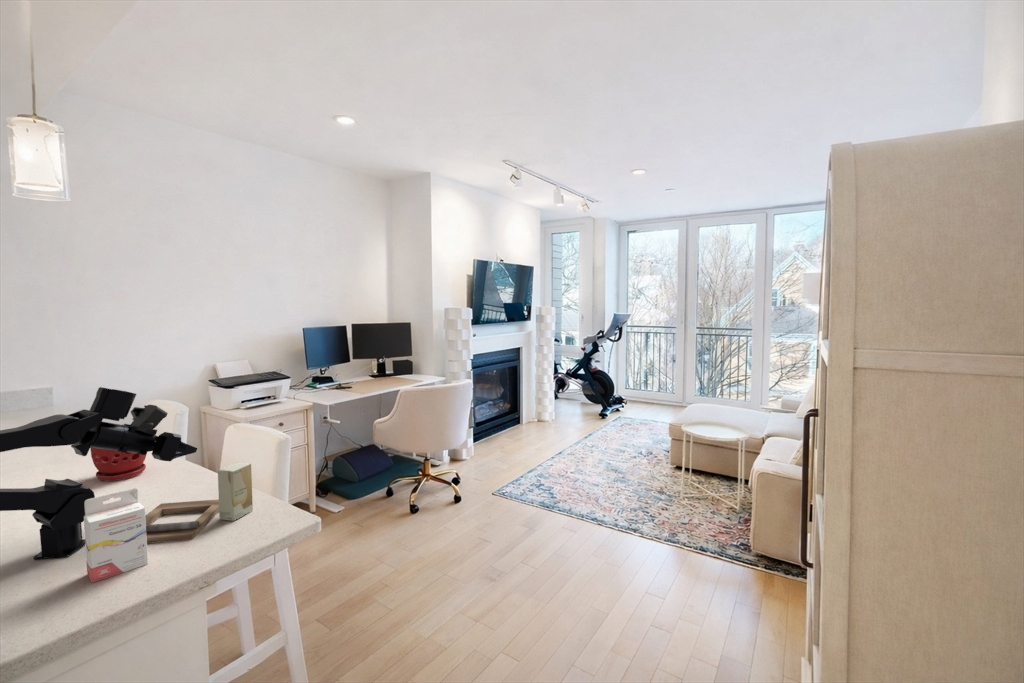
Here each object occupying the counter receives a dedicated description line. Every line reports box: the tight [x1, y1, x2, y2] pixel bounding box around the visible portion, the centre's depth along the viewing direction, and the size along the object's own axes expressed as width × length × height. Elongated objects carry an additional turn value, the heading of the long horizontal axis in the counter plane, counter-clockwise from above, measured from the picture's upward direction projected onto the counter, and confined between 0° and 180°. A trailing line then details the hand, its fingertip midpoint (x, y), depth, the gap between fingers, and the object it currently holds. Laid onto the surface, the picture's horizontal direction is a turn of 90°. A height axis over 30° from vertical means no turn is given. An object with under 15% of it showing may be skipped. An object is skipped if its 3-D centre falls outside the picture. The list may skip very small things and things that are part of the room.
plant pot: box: [89, 447, 147, 482], centre depth 138 cm, size 13×13×12 cm
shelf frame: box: [145, 498, 219, 544], centre depth 108 cm, size 18×15×3 cm
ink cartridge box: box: [83, 488, 149, 583], centre depth 89 cm, size 9×5×15 cm, turn 141°
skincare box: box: [217, 462, 254, 522], centre depth 112 cm, size 6×4×12 cm
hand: (185, 447), depth 117 cm, fingers open, 9 cm apart
